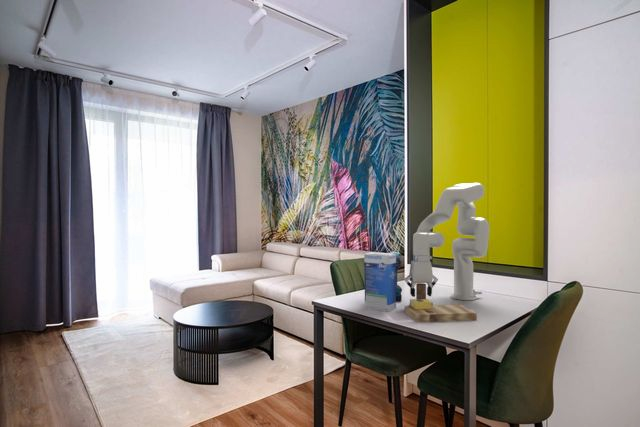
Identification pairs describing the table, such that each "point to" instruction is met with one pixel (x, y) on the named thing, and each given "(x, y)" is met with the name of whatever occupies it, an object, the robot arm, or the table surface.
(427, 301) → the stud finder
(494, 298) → the table surface
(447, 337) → the table surface
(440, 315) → the wooden pallet
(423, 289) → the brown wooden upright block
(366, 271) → the string lights box
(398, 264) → the impact wrench
